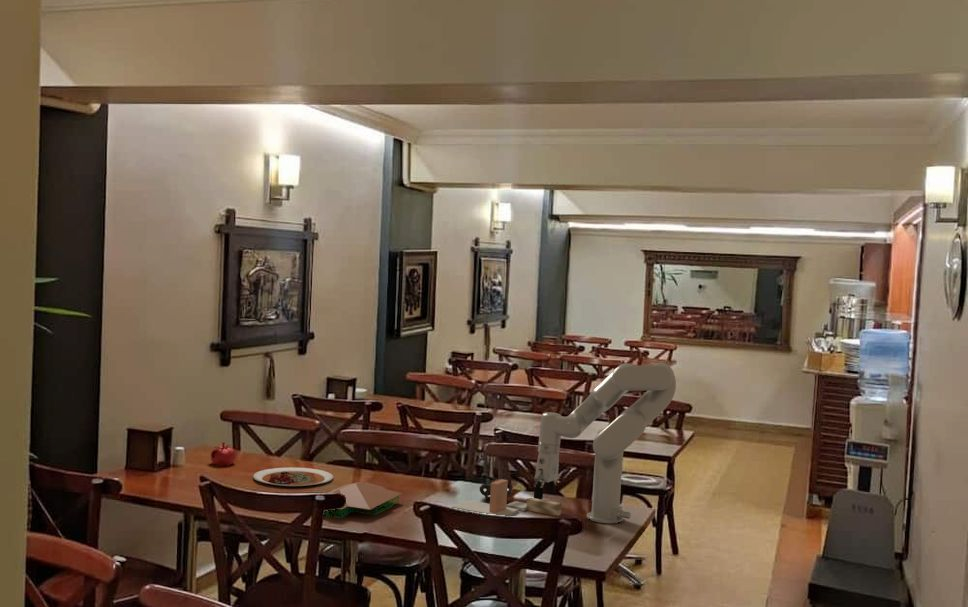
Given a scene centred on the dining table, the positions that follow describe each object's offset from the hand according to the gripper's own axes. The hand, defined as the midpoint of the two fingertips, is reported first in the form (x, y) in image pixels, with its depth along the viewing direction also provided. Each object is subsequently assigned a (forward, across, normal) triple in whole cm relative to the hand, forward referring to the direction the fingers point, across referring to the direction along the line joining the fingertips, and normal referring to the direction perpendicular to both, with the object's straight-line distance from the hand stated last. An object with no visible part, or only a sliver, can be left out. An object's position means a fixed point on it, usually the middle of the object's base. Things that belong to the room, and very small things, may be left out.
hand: (543, 496), depth 322 cm
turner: (+6, 0, -2) cm, 6 cm away
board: (+6, -12, +17) cm, 21 cm away
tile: (+5, -12, +12) cm, 17 cm away
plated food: (+11, -18, +96) cm, 99 cm away
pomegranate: (+12, -17, +133) cm, 135 cm away
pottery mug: (+8, +4, +23) cm, 24 cm away
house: (+9, -35, +55) cm, 66 cm away
